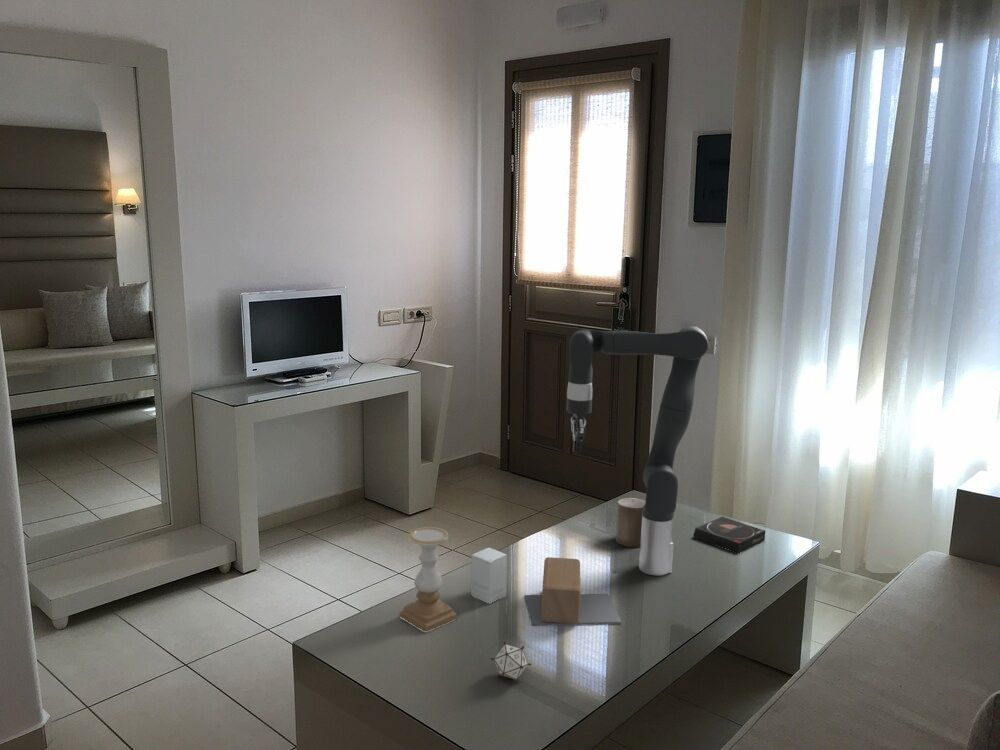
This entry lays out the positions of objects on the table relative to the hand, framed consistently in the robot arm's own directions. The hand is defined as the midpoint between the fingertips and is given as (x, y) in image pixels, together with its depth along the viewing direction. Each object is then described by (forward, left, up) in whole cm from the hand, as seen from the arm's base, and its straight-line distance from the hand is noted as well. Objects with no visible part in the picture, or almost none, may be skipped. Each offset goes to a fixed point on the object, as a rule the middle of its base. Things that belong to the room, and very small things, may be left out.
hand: (577, 452), depth 243 cm
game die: (+26, +63, -35) cm, 77 cm away
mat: (+6, +32, -35) cm, 48 cm away
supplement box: (+28, +23, -35) cm, 51 cm away
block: (+7, +21, -29) cm, 37 cm away
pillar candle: (-22, -13, -35) cm, 43 cm away
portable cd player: (-56, -14, -36) cm, 68 cm away
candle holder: (+45, +35, -35) cm, 67 cm away
